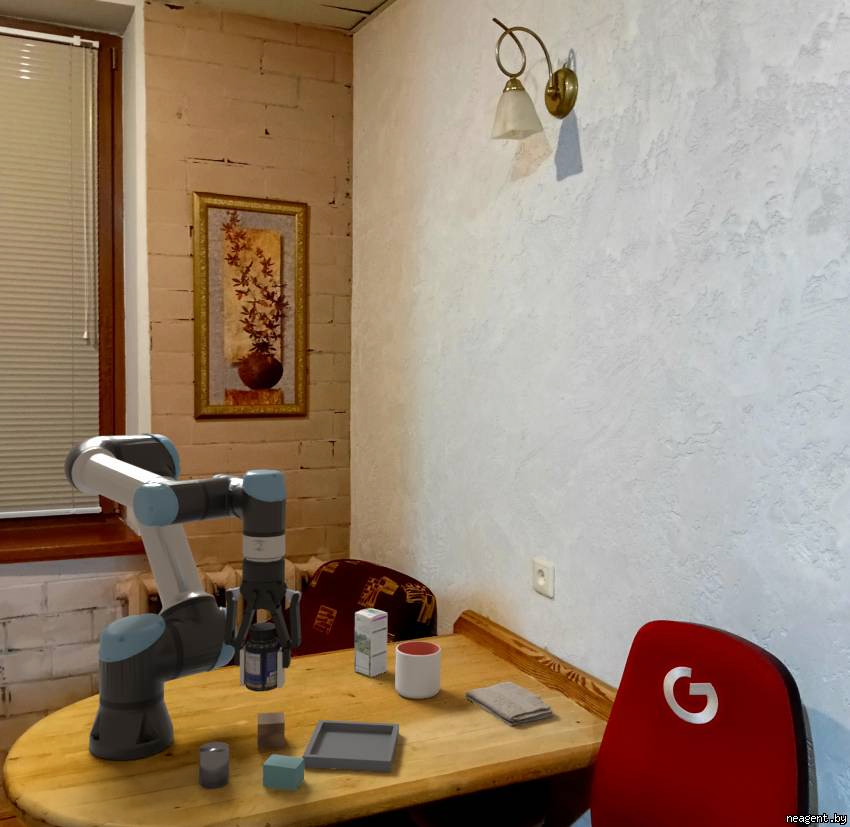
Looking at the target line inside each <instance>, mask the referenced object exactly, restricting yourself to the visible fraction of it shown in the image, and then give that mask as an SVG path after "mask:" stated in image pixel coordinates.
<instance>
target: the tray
mask: <svg viewBox="0 0 850 827" xmlns="http://www.w3.org/2000/svg"><path fill="white" fill-rule="evenodd" d="M399 737H400V724H399V723H388V722H387V723H386V722H369V721H368V722H367V721H352V720H351V721H348V720H330V719H328V720H327V719H318V722H317V724H316V726H315V728H314V730H313V732H312V735H311V736H310V739H309V741H308V743H307V746H306V747H305V749H304V752H303V754H302V757H301V758H304V768H307V767H311V768H310V769H326V768H335V769H334V770H344V769H351V770H350V771H362V770H363V771H366V772H383V773H391V772H392V768H393V767H392V766H393V763H394V759H395V758H394V757H395V755H396V754H395V753H396V749H397V744H398V741H399ZM313 767H314V768H313ZM353 769H354V770H353Z"/></svg>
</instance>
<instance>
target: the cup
mask: <svg viewBox="0 0 850 827" xmlns="http://www.w3.org/2000/svg"><path fill="white" fill-rule="evenodd" d="M441 654H442V649H441V646H439V645H438V644H436V643H433V642H429V641H422V640H421V641H419V640H418V641H417V640H413V641H405V642H401V643H399V644H398V645H397V646H396V647H395V671H394V672H395V673H394V674H395V680H394V684H395V685H394V688H395V690H396V692H397V693H398V694H399V695H400V696H402V697H405V698H408V699H414V700H424V698H425V699H428V698H432V697H434V696H435V695H438V693H439V692H440V688H441V665H442V664H441V659H442V655H441Z"/></svg>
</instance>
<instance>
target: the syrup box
mask: <svg viewBox="0 0 850 827" xmlns="http://www.w3.org/2000/svg"><path fill="white" fill-rule="evenodd" d="M387 658H388V612H386V611H384V610H380V609H375V608H372V607H370V608H364V609H360V610H359V611H355V613H354V664H353V665H354V672H355V673H358V674H360V675H363V676H365V677H368V678H373V676H374V677H377V676H379V675H378V674H380V675H382V674H384V672H385V673H387V672H388V671H387V670H388V659H387ZM381 673H382V674H381ZM376 675H377V676H376Z"/></svg>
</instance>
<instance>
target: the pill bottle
mask: <svg viewBox="0 0 850 827" xmlns="http://www.w3.org/2000/svg"><path fill="white" fill-rule="evenodd" d="M248 632H249V635H250V637H249V638H248V639H246V641H245V644H244V645H245V685H244V686H245V688H247V689H248V690H249V691H252V692H268V691H269V692H270V691H272V690H275V689H277V658H278V651H279V649H280V648H281V645H280V641H279V638H278V637H277V636H276V635H277V632H276V628H275V625H274V623H272V622H256V623H253V624H250V627H249V630H248Z"/></svg>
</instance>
